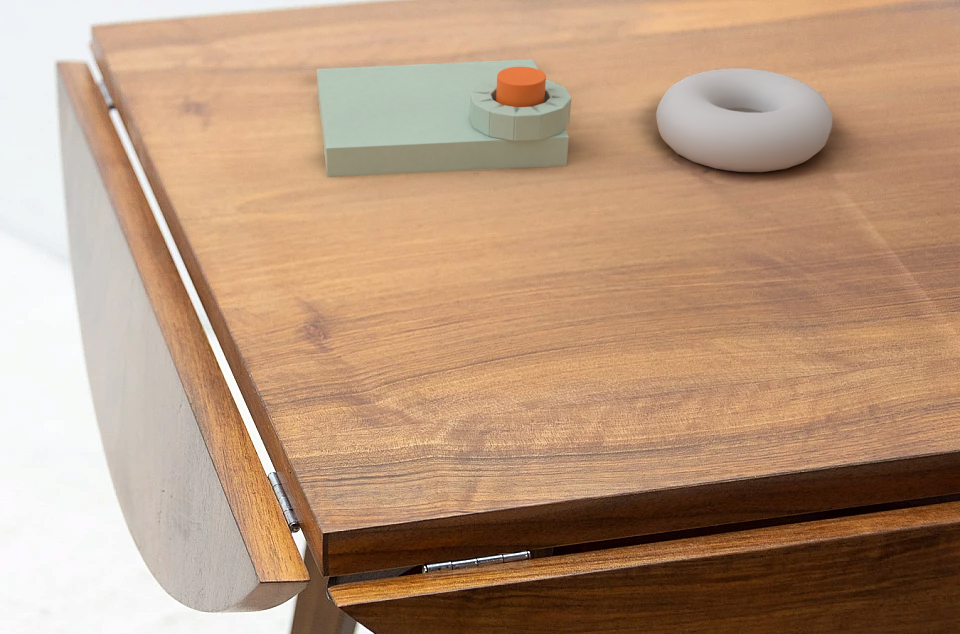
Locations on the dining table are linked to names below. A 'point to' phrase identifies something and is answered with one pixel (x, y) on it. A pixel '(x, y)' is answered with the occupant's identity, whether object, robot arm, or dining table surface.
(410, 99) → the scale
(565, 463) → the dining table surface
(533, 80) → the button
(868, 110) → the dining table surface
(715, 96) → the donut
